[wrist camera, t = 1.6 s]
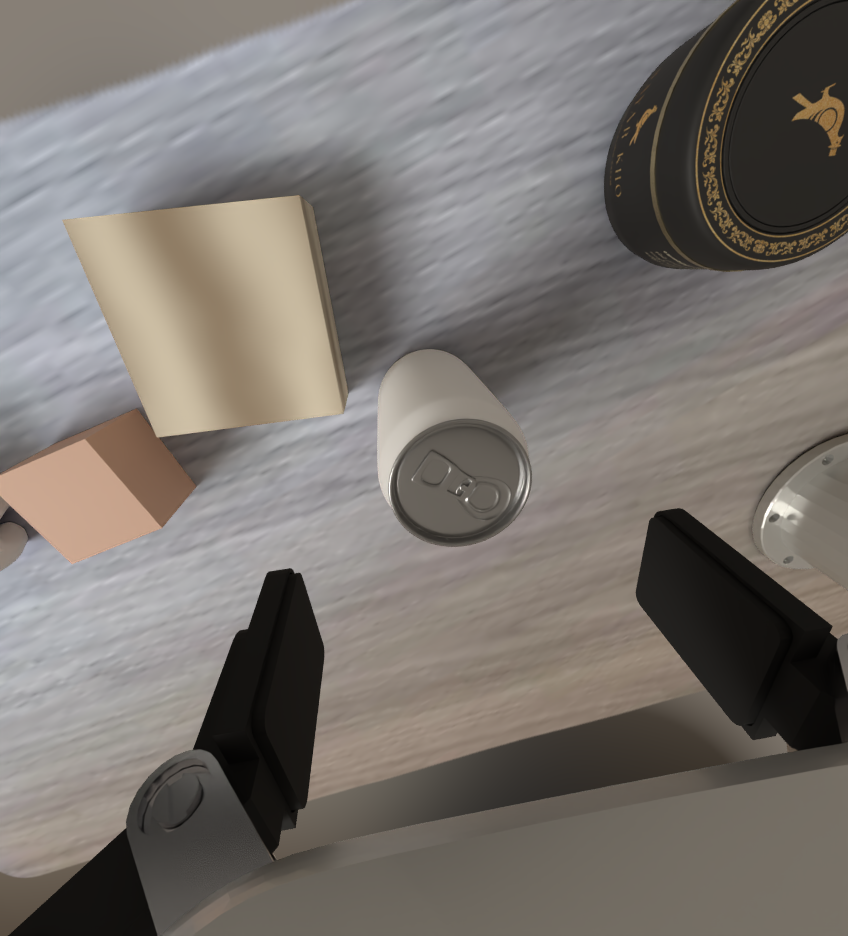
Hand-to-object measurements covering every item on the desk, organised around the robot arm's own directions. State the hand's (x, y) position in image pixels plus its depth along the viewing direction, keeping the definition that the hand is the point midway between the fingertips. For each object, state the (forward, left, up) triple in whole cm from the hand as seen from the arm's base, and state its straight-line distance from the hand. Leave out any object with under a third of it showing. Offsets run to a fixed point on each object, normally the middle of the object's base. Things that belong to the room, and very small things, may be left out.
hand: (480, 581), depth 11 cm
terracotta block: (+20, +2, -17) cm, 26 cm away
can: (0, 0, -17) cm, 17 cm away
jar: (-15, -11, -18) cm, 26 cm away
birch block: (+10, -6, -17) cm, 21 cm away
